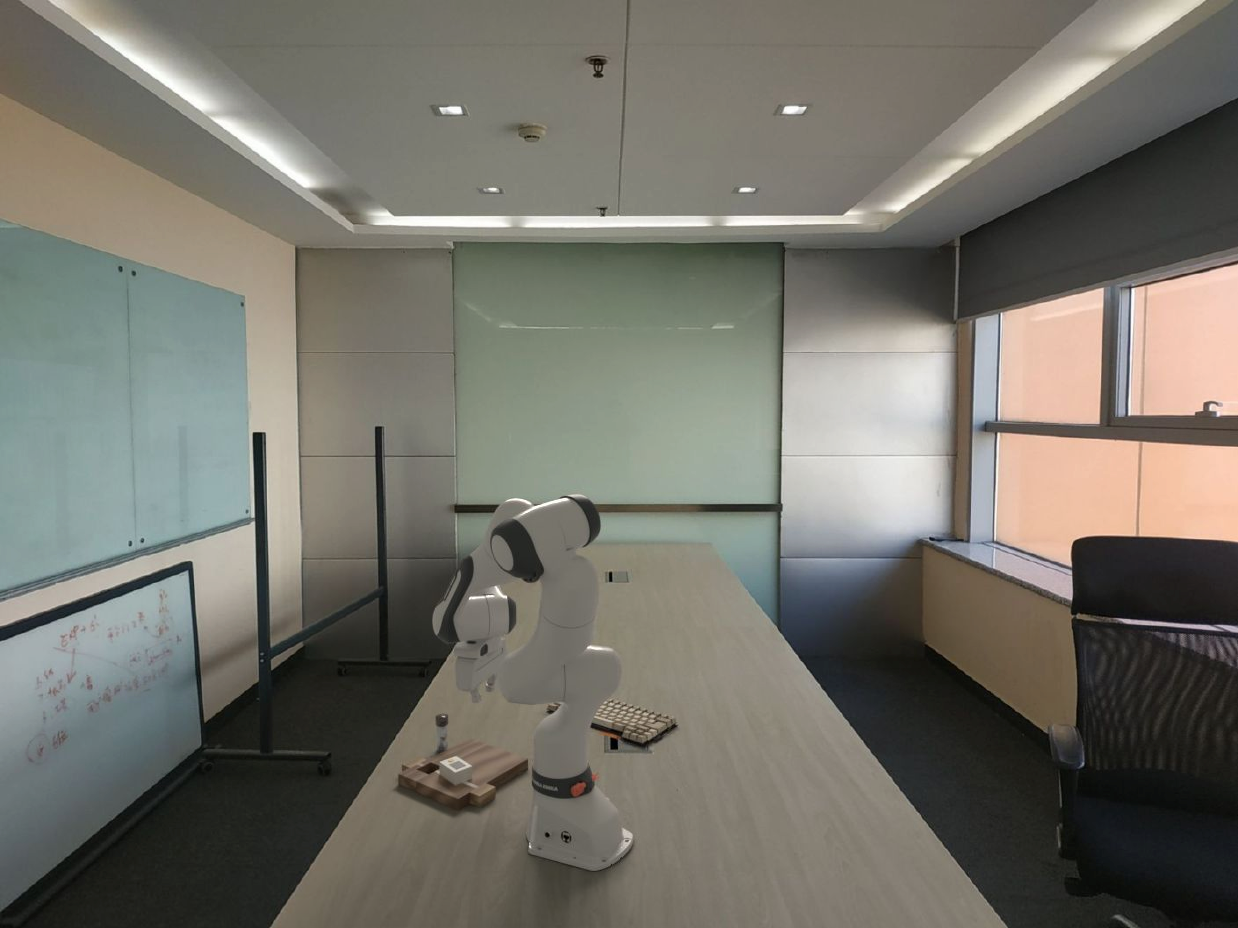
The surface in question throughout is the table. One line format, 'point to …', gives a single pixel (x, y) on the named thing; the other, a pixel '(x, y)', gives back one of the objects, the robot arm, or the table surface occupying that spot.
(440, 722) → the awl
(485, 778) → the board
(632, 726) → the mechanical keyboard
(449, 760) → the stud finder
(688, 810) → the table surface
